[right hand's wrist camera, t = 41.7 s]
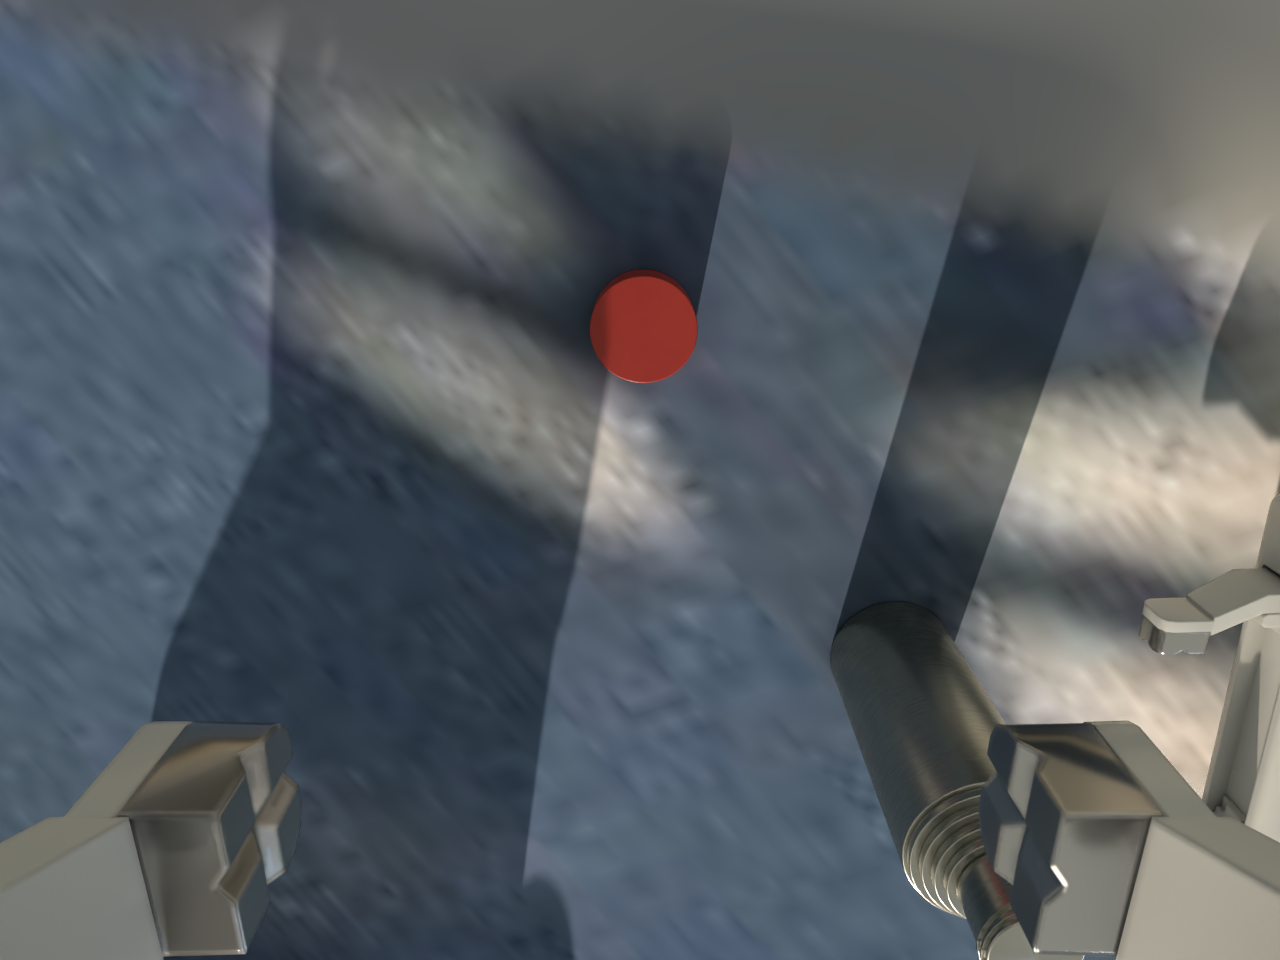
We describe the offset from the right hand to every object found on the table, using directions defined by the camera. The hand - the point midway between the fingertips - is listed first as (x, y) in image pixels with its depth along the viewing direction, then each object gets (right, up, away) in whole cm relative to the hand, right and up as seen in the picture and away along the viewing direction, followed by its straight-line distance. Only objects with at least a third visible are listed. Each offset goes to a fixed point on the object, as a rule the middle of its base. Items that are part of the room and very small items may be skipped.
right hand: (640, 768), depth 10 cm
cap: (0, +9, +24) cm, 26 cm away
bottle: (+11, -5, +31) cm, 33 cm away
